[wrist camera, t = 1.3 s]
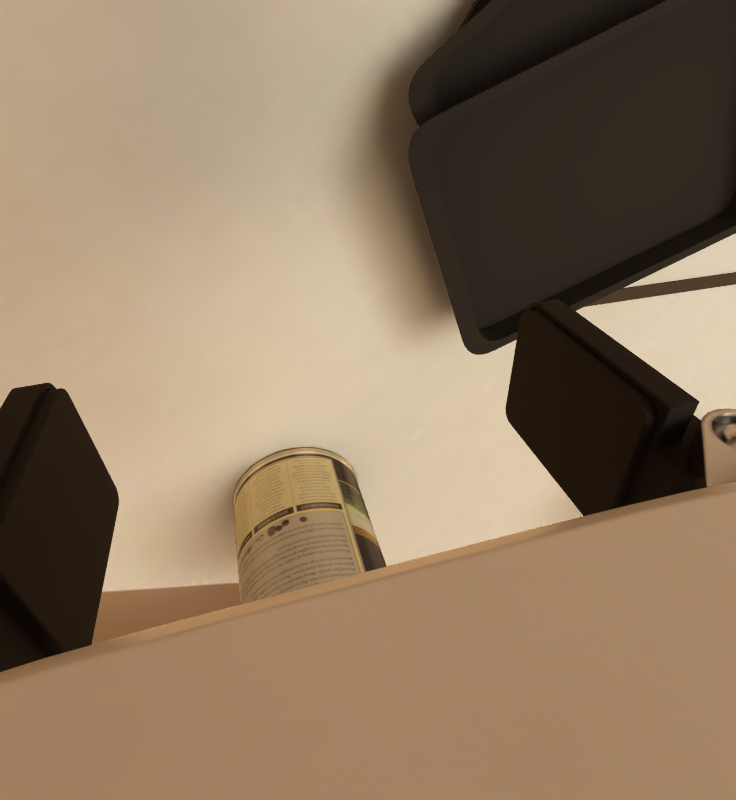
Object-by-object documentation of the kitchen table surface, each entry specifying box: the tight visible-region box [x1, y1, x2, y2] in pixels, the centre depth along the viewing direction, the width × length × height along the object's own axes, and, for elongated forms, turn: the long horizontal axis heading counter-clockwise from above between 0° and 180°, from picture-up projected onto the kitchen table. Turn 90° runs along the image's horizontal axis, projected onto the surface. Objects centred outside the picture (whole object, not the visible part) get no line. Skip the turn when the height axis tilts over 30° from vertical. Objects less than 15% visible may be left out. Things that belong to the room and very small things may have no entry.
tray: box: [409, 0, 736, 355], centre depth 26 cm, size 30×23×5 cm
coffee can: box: [233, 448, 387, 605], centre depth 34 cm, size 10×10×14 cm
